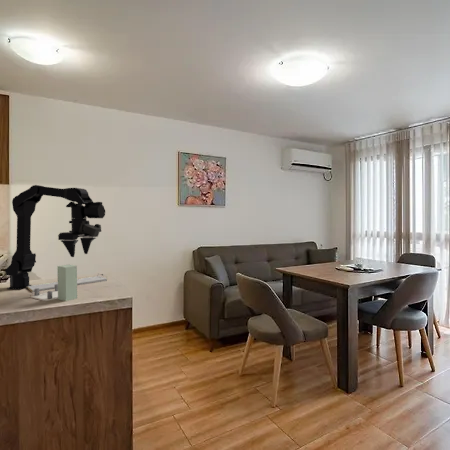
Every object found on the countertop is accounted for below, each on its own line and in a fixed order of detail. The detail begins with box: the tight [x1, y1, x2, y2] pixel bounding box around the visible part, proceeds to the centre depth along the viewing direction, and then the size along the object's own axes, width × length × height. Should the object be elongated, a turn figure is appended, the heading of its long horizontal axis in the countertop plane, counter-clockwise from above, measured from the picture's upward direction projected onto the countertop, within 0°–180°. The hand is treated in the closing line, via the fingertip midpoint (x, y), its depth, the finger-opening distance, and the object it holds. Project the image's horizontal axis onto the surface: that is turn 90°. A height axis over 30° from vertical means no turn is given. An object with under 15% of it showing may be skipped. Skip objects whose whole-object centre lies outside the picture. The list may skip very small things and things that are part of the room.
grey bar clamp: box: [25, 273, 108, 293], centre depth 139 cm, size 31×3×12 cm
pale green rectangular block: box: [56, 264, 78, 302], centre depth 115 cm, size 5×4×12 cm
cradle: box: [30, 284, 58, 302], centre depth 119 cm, size 10×12×3 cm
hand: (79, 255), depth 127 cm, fingers open, 9 cm apart
